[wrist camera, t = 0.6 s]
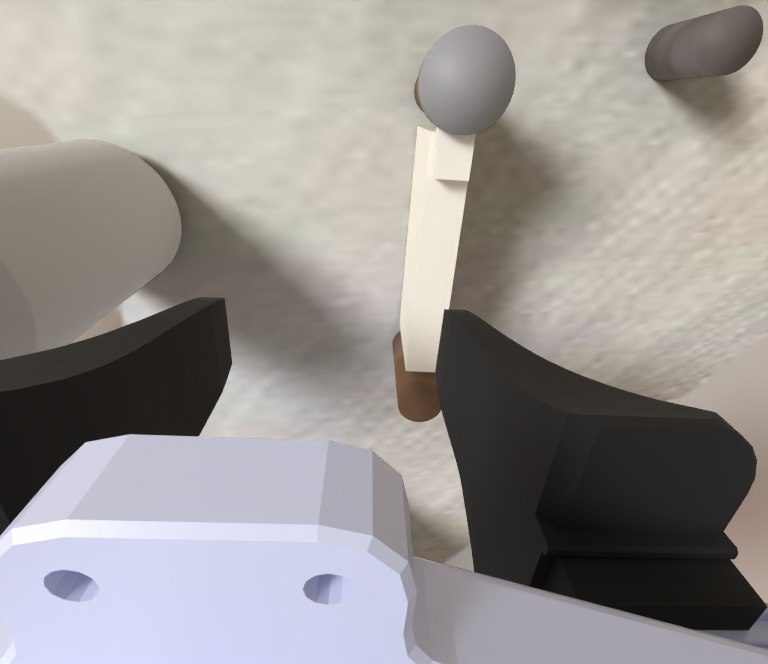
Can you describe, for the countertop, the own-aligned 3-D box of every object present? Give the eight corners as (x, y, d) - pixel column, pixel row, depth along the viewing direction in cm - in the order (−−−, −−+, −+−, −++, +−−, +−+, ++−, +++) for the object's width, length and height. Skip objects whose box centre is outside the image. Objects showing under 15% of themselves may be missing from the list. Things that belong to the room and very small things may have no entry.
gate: (408, 47, 17) (425, 20, 12) (477, 53, 17) (525, 29, 12) (387, 322, 23) (392, 388, 18) (439, 325, 23) (459, 391, 18)
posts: (587, 366, 25) (639, 429, 20) (391, 358, 24) (396, 421, 20) (702, 26, 17) (830, -6, 13) (421, 1, 17) (442, -43, 12)
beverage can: (188, 156, 19) (-38, 216, 9) (188, 287, 22) (18, 453, 11) (35, 123, 18) (-422, 144, 8) (56, 263, 21) (-257, 418, 11)
